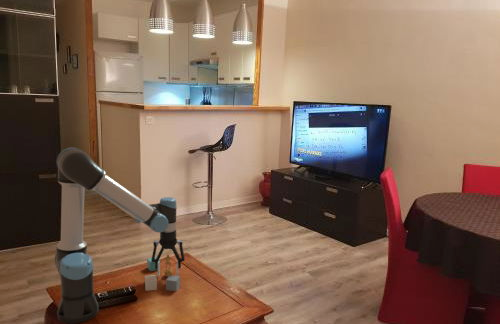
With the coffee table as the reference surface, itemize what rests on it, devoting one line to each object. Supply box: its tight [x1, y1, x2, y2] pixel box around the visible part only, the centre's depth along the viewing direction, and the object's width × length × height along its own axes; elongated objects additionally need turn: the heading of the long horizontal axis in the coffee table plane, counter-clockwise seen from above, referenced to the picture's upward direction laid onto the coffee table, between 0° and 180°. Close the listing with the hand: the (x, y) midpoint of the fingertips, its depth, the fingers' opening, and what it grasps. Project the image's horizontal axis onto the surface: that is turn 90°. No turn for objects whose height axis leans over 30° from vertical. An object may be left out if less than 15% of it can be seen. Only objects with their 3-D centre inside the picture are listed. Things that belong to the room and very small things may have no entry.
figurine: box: [160, 254, 177, 278], centre depth 191 cm, size 8×6×12 cm
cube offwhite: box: [144, 274, 158, 292], centre depth 181 cm, size 5×5×5 cm
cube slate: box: [165, 274, 181, 292], centre depth 182 cm, size 5×5×5 cm
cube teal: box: [146, 256, 161, 272], centre depth 201 cm, size 5×5×5 cm
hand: (168, 274), depth 192 cm, fingers closed on figurine, 8 cm apart
